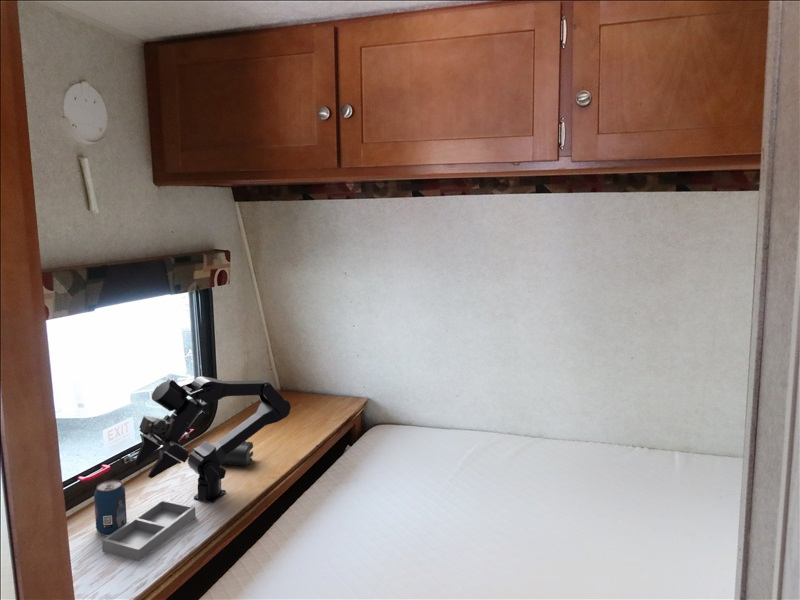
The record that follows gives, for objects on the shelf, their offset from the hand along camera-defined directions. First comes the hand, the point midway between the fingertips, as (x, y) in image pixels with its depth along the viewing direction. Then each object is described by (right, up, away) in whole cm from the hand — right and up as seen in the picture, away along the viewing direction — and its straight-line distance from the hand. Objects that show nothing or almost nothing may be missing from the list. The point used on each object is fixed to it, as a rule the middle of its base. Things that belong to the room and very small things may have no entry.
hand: (142, 471), depth 150 cm
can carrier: (+4, -14, -4) cm, 16 cm away
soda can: (-6, -14, -3) cm, 16 cm away
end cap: (+14, -8, +35) cm, 39 cm away
